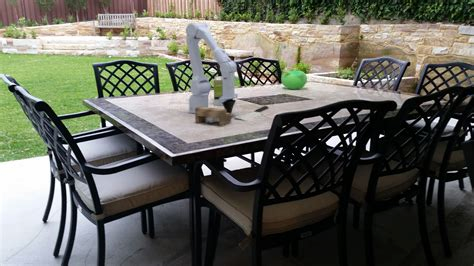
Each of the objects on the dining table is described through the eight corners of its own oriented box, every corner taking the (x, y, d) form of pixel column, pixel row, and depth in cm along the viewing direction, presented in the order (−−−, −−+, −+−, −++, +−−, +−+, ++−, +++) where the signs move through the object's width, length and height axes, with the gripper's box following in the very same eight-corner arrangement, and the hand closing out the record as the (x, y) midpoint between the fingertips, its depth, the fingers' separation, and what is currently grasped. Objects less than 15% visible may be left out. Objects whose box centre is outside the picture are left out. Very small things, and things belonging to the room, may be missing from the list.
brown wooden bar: (205, 122, 180) (205, 117, 179) (221, 116, 191) (221, 112, 191) (212, 123, 178) (212, 118, 177) (228, 117, 189) (228, 112, 189)
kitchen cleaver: (253, 120, 181) (234, 115, 185) (252, 124, 181) (233, 119, 185) (278, 108, 207) (261, 104, 211) (278, 112, 208) (261, 108, 212)
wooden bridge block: (195, 122, 178) (195, 107, 176) (205, 119, 185) (204, 104, 183) (222, 126, 172) (221, 111, 170) (230, 122, 179) (230, 107, 177)
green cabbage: (307, 87, 283) (308, 67, 279) (305, 91, 267) (306, 69, 263) (282, 86, 287) (282, 66, 283) (279, 90, 271) (280, 69, 267)
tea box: (215, 101, 231) (214, 76, 227) (232, 101, 231) (232, 76, 228) (213, 106, 217) (213, 79, 213) (231, 106, 217) (231, 79, 213)
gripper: (228, 89, 179) (228, 118, 182) (243, 85, 191) (242, 112, 194) (215, 88, 182) (215, 116, 185) (230, 84, 194) (230, 111, 198)
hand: (228, 114), depth 190 cm, fingers closed
